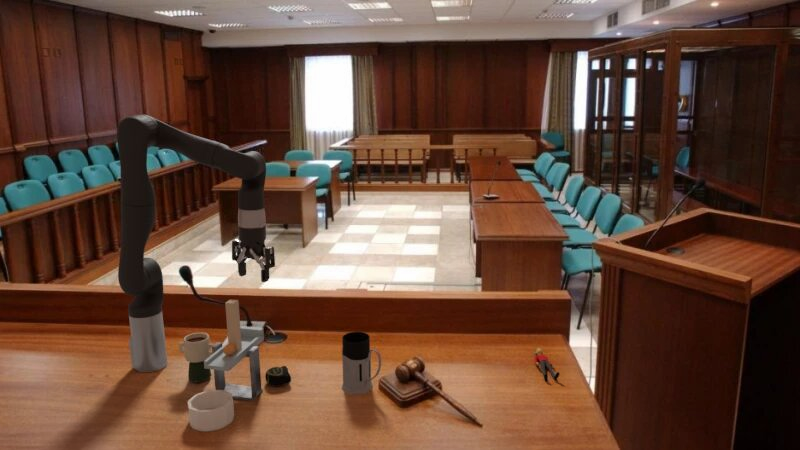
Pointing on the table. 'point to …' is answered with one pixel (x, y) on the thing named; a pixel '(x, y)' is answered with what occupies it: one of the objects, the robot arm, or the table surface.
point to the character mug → (197, 355)
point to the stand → (240, 390)
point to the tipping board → (235, 357)
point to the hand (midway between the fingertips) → (253, 278)
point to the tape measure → (278, 376)
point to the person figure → (544, 364)
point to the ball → (229, 349)
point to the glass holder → (357, 363)
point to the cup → (211, 410)
